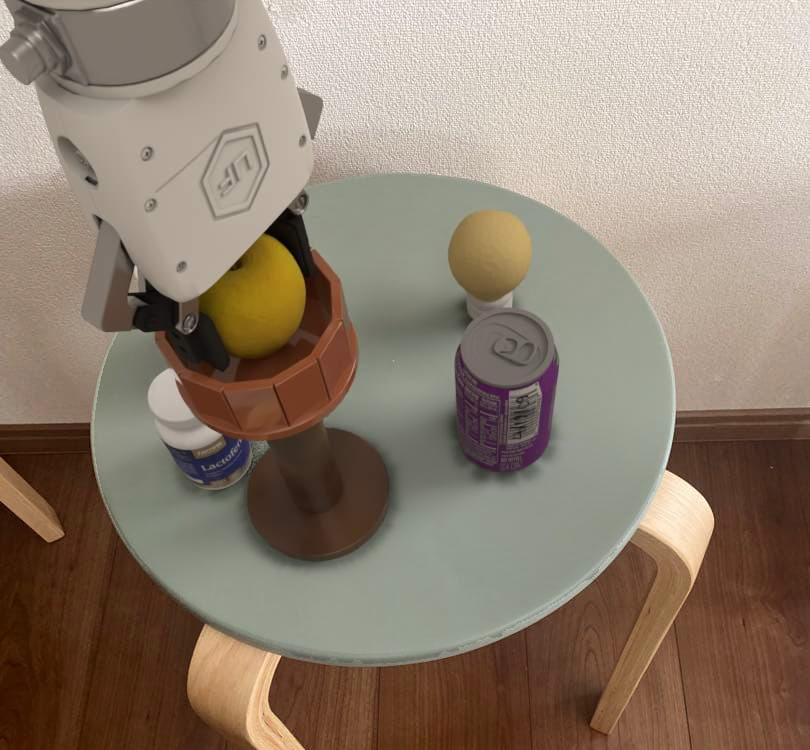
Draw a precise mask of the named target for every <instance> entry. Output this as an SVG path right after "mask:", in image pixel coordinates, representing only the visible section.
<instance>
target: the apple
mask: <svg viewBox="0 0 810 750" xmlns="http://www.w3.org/2000/svg"><path fill="white" fill-rule="evenodd" d="M305 300H306V290H305V282H304V278H303V275H302V273H301V270H300V268H299V266H298V264H297V263H296V261H295V259H294V258H293V256H292V255H291V253H290V252H289V251H288V249H287V248H286V247H285V246H284V245H283V244H282V243H281V242H280V241H278V240H277V239H276V238H274V237H272V236H270V235H267V234H265V233H263V234H262V235H261V236H260V237H259V238H258V239H257V240H256V241H255V242H254V243H253V244H252V245H251V247H250V248H249V249H248V250H247V251H246V252H245V253H244V254H243V255H242V256H241V257H240V258H239V259H238V260H237V261H236V262H235V263H234V264H233V265H232V266H231V267H230V269H229V270H228V271H227V272H226V273H225V274H224V275H223V276H222V277H221V278H220V279H219V280H218V281H217V282H216V283H215V284H213V285H212V286H211V287H210V288H209V289H208V290H207V291H205V292H204V293H203V294H201V295H200V296H199V311H201V312H203V313H204V314H206V315H208V316H209V317H210V318H211V319H212V320H213V322H214V325H215V327H216V329H217V331H218V333H219V336H220V338H221V340H222V342H223V344H224V346H225V349H226V351H227V353H228V355H229V356H231V357H236V358H242V359H265V358H268V357H270V356H272V355H273V354H274V353H276V352H277V351H278V350H279V349H281V348H282V347H283V346H284V345H285V344H286V343H287V342H288V341H289V340H290V339H291V338H292V336H293V335H294V334H295V332H296V331H297V329H298V327H299V325H300V322H301V319H302V316H303V313H304V308H305Z"/></svg>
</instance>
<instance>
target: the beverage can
mask: <svg viewBox="0 0 810 750" xmlns="http://www.w3.org/2000/svg"><path fill="white" fill-rule="evenodd" d="M453 364H454V365H453V367H454V384H455V385H454V386H455V404H456V405H455V407H456V409H455V410H456V425H457V429H456V430H457V440H458V443H459V447H460V448H461V450H462V452H463V453H464V454H465V456H466V457H467V458H468V459H469V460H470V461H471V462H472V463H474V464H475V465H477V466H478V467H480V468H482V469H485V470H488V471H491V472H495V473H512V472H516V471H520V470H523V469H525V468H527V467H529V466H531V465H533V464H534V463H535V462H536V461H538V460H539V459H540V458H541V456H543V454H544V452H545V451H546V449H547V448H548V445H549V442H550V438H551V431H552V424H553V423H552V422H553V415H554V407H555V401H556V394H557V385H558V379H559V371H560V355H559V351H558V348H557V346H556V343H555V339H554V334H553V332H552V331H551V328H550V327H549V326H548V324H547V323H546V322H545V321H544V320H543V319H542V318H541V317H539V316H538V315H536V314H535V313H532V312H531V311H529V310H526V309H522V308H518V307H512V308H498V309H493V310H490V311H487V312H485V313H483V314H481V315H480V316H478V317H477V318H475V319H474V320H473V319H472V321H470V323H469V324H468V325H467V327H466V328H465V329H464V331H463V333H462V336H461V339H460V342H459V344H458V345H457V349H456V351H455V355H454V363H453Z"/></svg>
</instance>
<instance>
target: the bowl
mask: <svg viewBox="0 0 810 750" xmlns="http://www.w3.org/2000/svg"><path fill="white" fill-rule="evenodd" d="M310 249H311V253H312V257H313V260H314V264H315V268H316V270H315V271H314V272H313V273H312V274H311V275H310V277H307V276H306V277H303V278H304V282H305V290H306V300H305V308H304V313H303V316H302V319H301V322H300V325H299V327H298V329H297V331H296V332H295V334H294V335H293V336H292V338H291V339H290V340H289V341H288V342H287V343H286V344H285V345H284V346H283V347H282V348H281V349H279V350H278V351H277V352H276V353H274V354H273V355H272V356H270V357H268V358H265V359H242V358H236V357H231V356H229V357H230V362H229V363H230V366H229V367H228V368H227V369H226V370H225V371H224V372H221V371H219V370H218V369H216V368H214V367H213V366H211V365H209V364H208V363H206V362H205V361H203V360H202V361H201V362H200V363H199V364H198V365H196V364H194V363H192V362H190V361H188V360H187V359H185V358H184V357H183V356H182V355H180V354H179V353H178V351H177V350H176V349H175V347H174V346H173V344H172V342H171V340H170V338H169V336H168V335H167V333H166V331H159V332H154V336H153V337H154V339H153V340H154V342H155V345H156V347H157V349H158V350H159V352H160V354H161V356H162V357H163V360H164V361H165V363H166V364H167V366H168V368H170V370H171V372H172V373H173V375H174V377H175V382H176V385H177V388H178V391H179V393H180V395H181V397H182V399H183V400H184V402H185V404H186V406H187V407H188V409H189V410H190V411H191V413H192V414H193V415H194V416H195V417H196V418H197V419H198V420H199V421H200V422H201V423H203V424H204V425H206V426H207V427H208V428H210V429H212V430H214V431H216V432H218V433H220V434H222V435H225V436H228V437H231V438H235V439H240V440H248V441H249V442H265V441H266V442H267V441H269V440H275V439H281V438H285V437H288V436H292V435H295V434H297V433H300V432H302V431H305V430H306V429H308V428H310V427H312V426H314V425H316V424H317V423H318V422H320V421H321V420H323V421H324V419H326V418H327V417H328V416H329V415H330V414H331V413H332V412H334V411H335V410H336V408H338V406H339V405H340V404H341V403H342V402H343V400H344V398H346V396H347V394H348V393H349V391H350V389H351V387H352V385H353V384H354V381H355V377H356V375H357V372H358V366H359V359H360V349H359V342H358V336H357V333H356V329H355V325H354V323H353V321H352V319H351V317H350V315H349V310H348V305H347V302H346V298H345V293H344V288H343V283H342V281H341V278H340V276H338V274H337V273H336V272H335V270H334V269H333V268H332V267H331V266H330V265H329V263H327V261H326V260H325V258H324V257H323V256H322V255H321V254H320V252H318V250H317V249H316V248H314V247H312V246H310Z"/></svg>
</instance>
